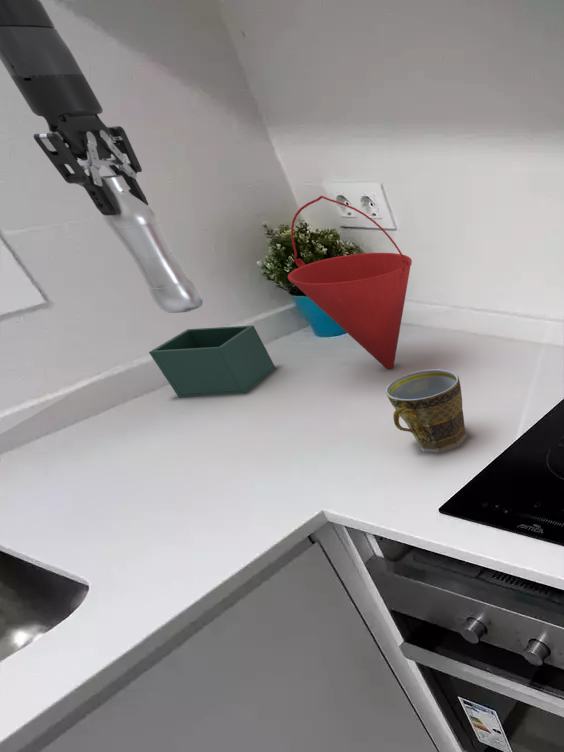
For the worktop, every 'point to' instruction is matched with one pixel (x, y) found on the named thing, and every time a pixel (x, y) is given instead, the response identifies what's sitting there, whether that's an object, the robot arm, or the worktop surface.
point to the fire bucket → (359, 293)
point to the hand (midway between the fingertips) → (126, 210)
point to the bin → (214, 361)
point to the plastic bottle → (150, 249)
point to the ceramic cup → (429, 408)
